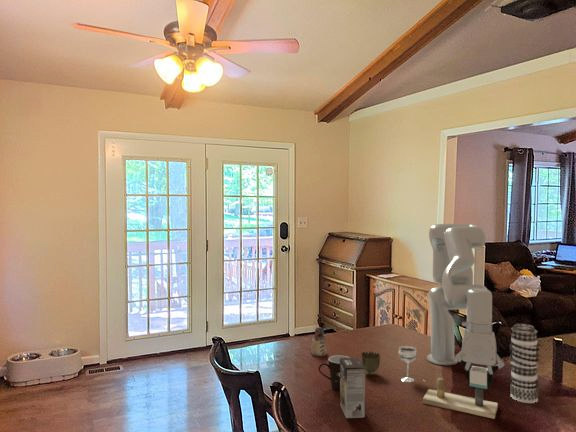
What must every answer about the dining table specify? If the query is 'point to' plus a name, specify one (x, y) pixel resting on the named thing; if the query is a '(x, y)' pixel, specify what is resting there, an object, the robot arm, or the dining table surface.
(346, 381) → the coffee box
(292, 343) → the dining table surface
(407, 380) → the wineglass
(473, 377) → the sleeve
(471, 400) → the pin board
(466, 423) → the dining table surface
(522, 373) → the decorative candle
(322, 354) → the figurine
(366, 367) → the cup
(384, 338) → the dining table surface
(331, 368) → the coffee mug
